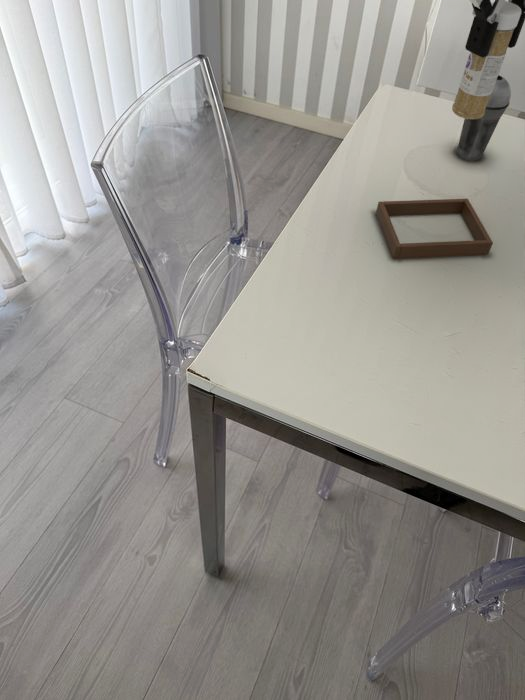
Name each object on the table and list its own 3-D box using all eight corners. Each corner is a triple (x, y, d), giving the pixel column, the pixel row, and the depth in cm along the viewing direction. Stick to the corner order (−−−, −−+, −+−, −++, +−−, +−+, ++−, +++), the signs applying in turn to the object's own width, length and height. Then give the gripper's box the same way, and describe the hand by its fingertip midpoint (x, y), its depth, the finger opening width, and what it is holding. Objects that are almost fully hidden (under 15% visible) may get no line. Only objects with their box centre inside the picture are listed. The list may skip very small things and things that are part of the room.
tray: (462, 213, 98) (467, 198, 96) (486, 257, 91) (493, 242, 89) (374, 216, 97) (378, 201, 94) (392, 262, 89) (396, 246, 87)
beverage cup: (495, 161, 109) (538, 53, 94) (469, 172, 107) (509, 63, 91) (466, 143, 113) (503, 37, 98) (441, 153, 110) (475, 46, 95)
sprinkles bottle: (446, 105, 80) (478, -2, 69) (476, 104, 80) (512, -2, 70) (458, 122, 77) (493, 13, 67) (490, 120, 78) (529, 12, 67)
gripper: (531, -122, 53) (468, 76, 67) (630, -138, 60) (554, 44, 74) (469, -139, 56) (421, 52, 71) (569, -152, 63) (508, 24, 77)
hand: (490, 46), depth 72 cm, fingers closed on sprinkles bottle, 4 cm apart
